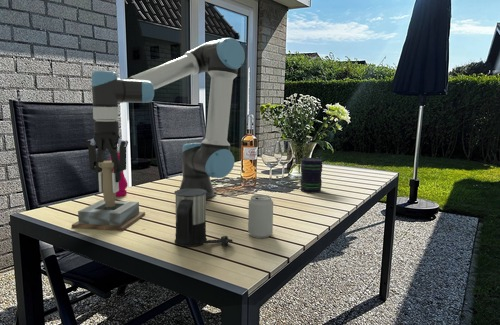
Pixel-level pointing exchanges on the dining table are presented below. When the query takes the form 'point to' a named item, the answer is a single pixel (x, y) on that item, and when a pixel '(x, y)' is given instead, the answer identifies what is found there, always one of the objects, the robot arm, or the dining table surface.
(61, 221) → the dining table surface
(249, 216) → the can
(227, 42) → the robot arm
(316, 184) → the storage jar
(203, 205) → the milk frother
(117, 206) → the frame
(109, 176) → the handle
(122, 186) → the pepper mill
